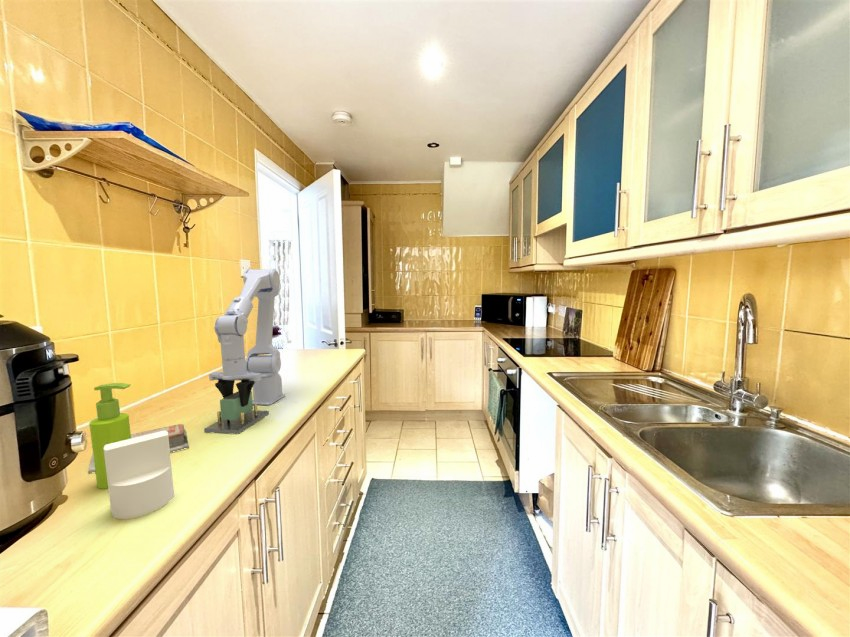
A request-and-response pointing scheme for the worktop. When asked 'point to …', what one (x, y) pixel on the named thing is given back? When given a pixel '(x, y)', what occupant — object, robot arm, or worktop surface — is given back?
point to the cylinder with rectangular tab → (139, 475)
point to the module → (234, 406)
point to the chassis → (236, 422)
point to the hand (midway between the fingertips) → (237, 405)
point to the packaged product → (175, 436)
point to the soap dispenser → (107, 428)
